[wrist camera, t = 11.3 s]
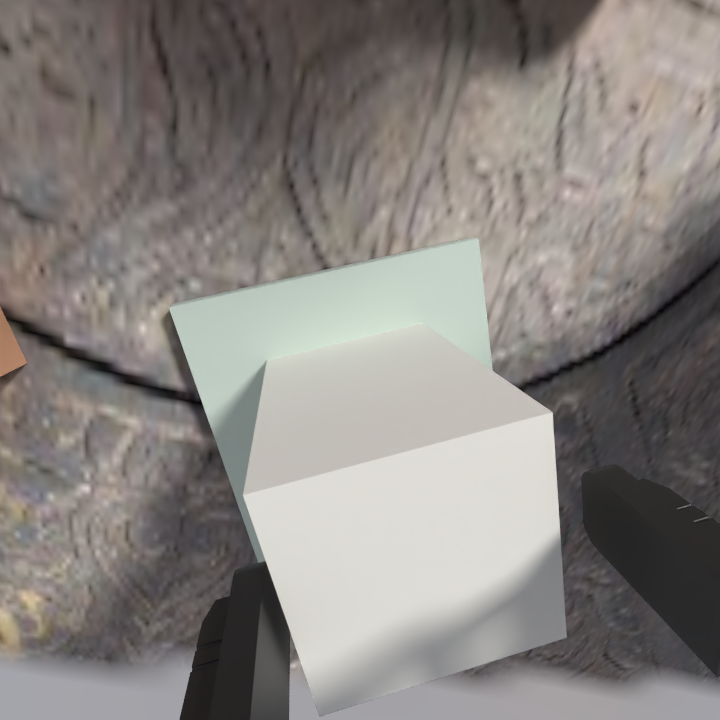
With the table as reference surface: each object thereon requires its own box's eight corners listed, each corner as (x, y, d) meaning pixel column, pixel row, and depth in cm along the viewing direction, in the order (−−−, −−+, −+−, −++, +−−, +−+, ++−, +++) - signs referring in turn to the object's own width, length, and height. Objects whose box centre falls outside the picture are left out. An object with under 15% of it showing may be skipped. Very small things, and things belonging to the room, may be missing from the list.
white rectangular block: (422, 322, 17) (552, 412, 9) (444, 457, 19) (566, 637, 11) (266, 360, 17) (242, 494, 8) (305, 495, 19) (319, 716, 10)
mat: (468, 237, 18) (478, 238, 17) (496, 481, 21) (505, 493, 20) (175, 303, 16) (168, 307, 16) (259, 547, 20) (258, 562, 19)
